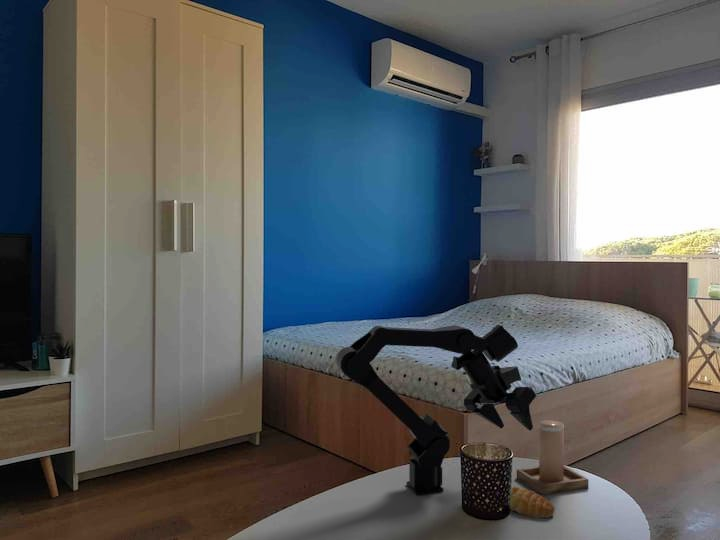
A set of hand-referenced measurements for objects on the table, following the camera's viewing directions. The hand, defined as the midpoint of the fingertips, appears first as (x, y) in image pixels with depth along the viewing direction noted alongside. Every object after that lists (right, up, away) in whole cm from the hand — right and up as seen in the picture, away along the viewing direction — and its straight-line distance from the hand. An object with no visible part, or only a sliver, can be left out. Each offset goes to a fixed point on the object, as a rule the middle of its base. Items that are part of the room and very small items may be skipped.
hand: (516, 428), depth 130 cm
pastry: (-2, -13, -14) cm, 19 cm away
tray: (+8, -12, -1) cm, 14 cm away
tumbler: (+8, -12, -1) cm, 14 cm away
